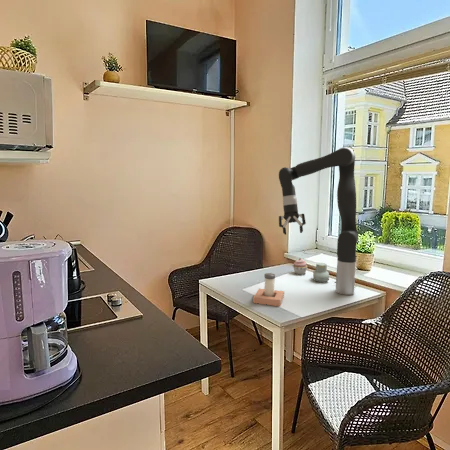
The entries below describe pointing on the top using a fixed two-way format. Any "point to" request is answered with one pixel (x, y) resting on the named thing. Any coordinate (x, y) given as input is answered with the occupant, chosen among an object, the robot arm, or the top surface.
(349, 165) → the robot arm
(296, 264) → the cupcake
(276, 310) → the top surface
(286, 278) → the top surface
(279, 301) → the socket block
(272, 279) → the canister
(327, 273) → the air freshener
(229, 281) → the top surface
